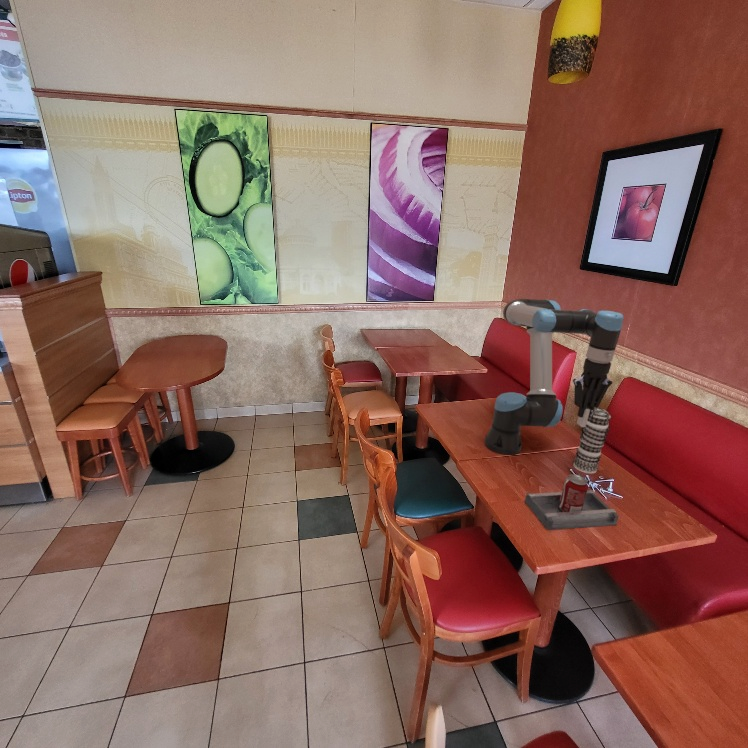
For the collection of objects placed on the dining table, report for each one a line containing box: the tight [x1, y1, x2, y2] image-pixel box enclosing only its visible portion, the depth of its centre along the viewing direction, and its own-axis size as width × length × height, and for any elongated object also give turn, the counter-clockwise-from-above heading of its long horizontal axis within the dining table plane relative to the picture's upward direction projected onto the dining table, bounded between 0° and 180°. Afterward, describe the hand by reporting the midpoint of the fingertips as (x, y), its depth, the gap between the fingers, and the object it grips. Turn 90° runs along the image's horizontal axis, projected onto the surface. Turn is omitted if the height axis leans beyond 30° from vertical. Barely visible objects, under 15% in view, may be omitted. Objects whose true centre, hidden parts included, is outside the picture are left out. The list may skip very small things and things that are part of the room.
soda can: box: [559, 473, 589, 512], centre depth 131 cm, size 7×7×12 cm
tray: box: [524, 489, 620, 531], centre depth 133 cm, size 14×24×4 cm, turn 99°
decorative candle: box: [572, 407, 612, 474], centre depth 156 cm, size 9×9×25 cm
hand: (581, 425), depth 138 cm, fingers closed
